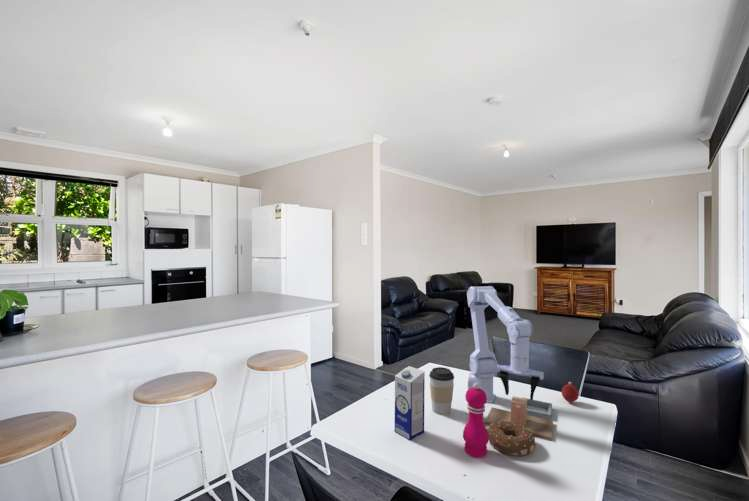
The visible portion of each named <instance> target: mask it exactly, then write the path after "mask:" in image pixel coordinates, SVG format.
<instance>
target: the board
mask: <svg viewBox="0 0 749 501" xmlns="http://www.w3.org/2000/svg"><path fill="white" fill-rule="evenodd" d="M488 412H489V413H488V414H487V417H486V418H485V419H484V424H485V426H490V425H491V424H492V423H495V422H500V421H508V422H509V421H510V422H511V410H506V409H501V408H497V407H494V406H493V407H491V408H490V410H489V411H488ZM522 426H524V427H526V428H527V429H528V430H529V431H530V432H531V433H532V435H533V436H534V438H539V439H543V440H547V441H550V442H551V441H552V439H553V438H552V437H553V428H554V420H552V419H551V420H547V419H543V418H538V417H534V416H529V415H527V422H526V425H522Z"/></svg>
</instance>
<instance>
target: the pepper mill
mask: <svg viewBox="0 0 749 501" xmlns="http://www.w3.org/2000/svg"><path fill="white" fill-rule="evenodd" d="M464 396H465V400H466V402H467V405H466V406H467V407H466V409H467V411H468V416H467V417H468V419H467V422H466V423H465V426H464V428H463V432H462V438H463V440H464V442H465V443H464V452H465V453H466V454H467V455H469V456H470V457H474V458H477V459H478V458H479V459H480V458H484V457H486V456H487V453H488V446H487V444H489V436H488V432H487V427H486V424H485V419H484V413H485V412H486V406H485V405H486V403H488V402H487V396H486V393H485V392H484V391H483V390H482V389H480V388H479V384H478V383H474V384H473V388H470V389H468V388H467V391H466V393H465V395H464Z"/></svg>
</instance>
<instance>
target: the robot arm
mask: <svg viewBox="0 0 749 501" xmlns="http://www.w3.org/2000/svg"><path fill="white" fill-rule="evenodd" d="M497 294H498V293H497V289H495V288H494V286H492V285H488V286H487V285H486V286H470V287H469V288H468V290H467V291H466V297H467V300H466V301H467V305H468V308H470V315H471V316H470V317H471V322H472V331H473V340H474V341H473V342H474V346H475V350H474V351H473V352H472V353H471V354H470V355H469V370H470V373H469V374H468V378H467V390H468V389H470V388H473V384H474V383H478V384H479V388H480V389H482V390H483V391H484V392H485V393H486V396H487V402H486V403H490V404H492V403H493V401H494V399H495V398H496V394H495V393H494V377H495V376H496V374H497V373H499V378H500V380H501V382H502V385H503V387H504V388H503V389H504V390H505V392H504V393H505V395H506V396H509V393H510V385H509V381H510V380H509V378H510V374H511V375H517V376H524V377H529V378H530V395H529V399H530V400H534V396H535V395H534V394H535V391H536V388H537V387H538V384H539V383H540V381H541V380H544V375H545V374H544V371H540V370H535V369H532V368H530V337H532V336H533V335H534V326H533V324H532V322H531V321H530V320H529V319H524V318H522V317H521V316H520V315H518V313H517V312H516V311H515V310H514V309H513V307H511V306H508V305H507V306H506V305H505V304H504V303H503V301H502V300H501V299H500V298H499V296H498V295H497ZM489 306H490V307H491V308H493V310H495V312H497V317H498V319H499V320H500V321H501V323H503V325H504V326H505V327H506V331H507V334H508V339H509V343H510V365H503V364H498V361H497V358H496V354H495V353H494V352H492V351H491V350H490V347H489V339H488V332H487V331H488V330H487V324H486V316H485V309H486V308H487V307H489Z"/></svg>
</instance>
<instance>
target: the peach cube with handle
mask: <svg viewBox="0 0 749 501" xmlns="http://www.w3.org/2000/svg"><path fill="white" fill-rule="evenodd" d="M524 398H525V397H518V396H514V395H513V396H512V398H511V401H510V411H511V422H513V423H517V424H521V425H526V422H527V409H528V404H527V399H528V398H527V399H524Z"/></svg>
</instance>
